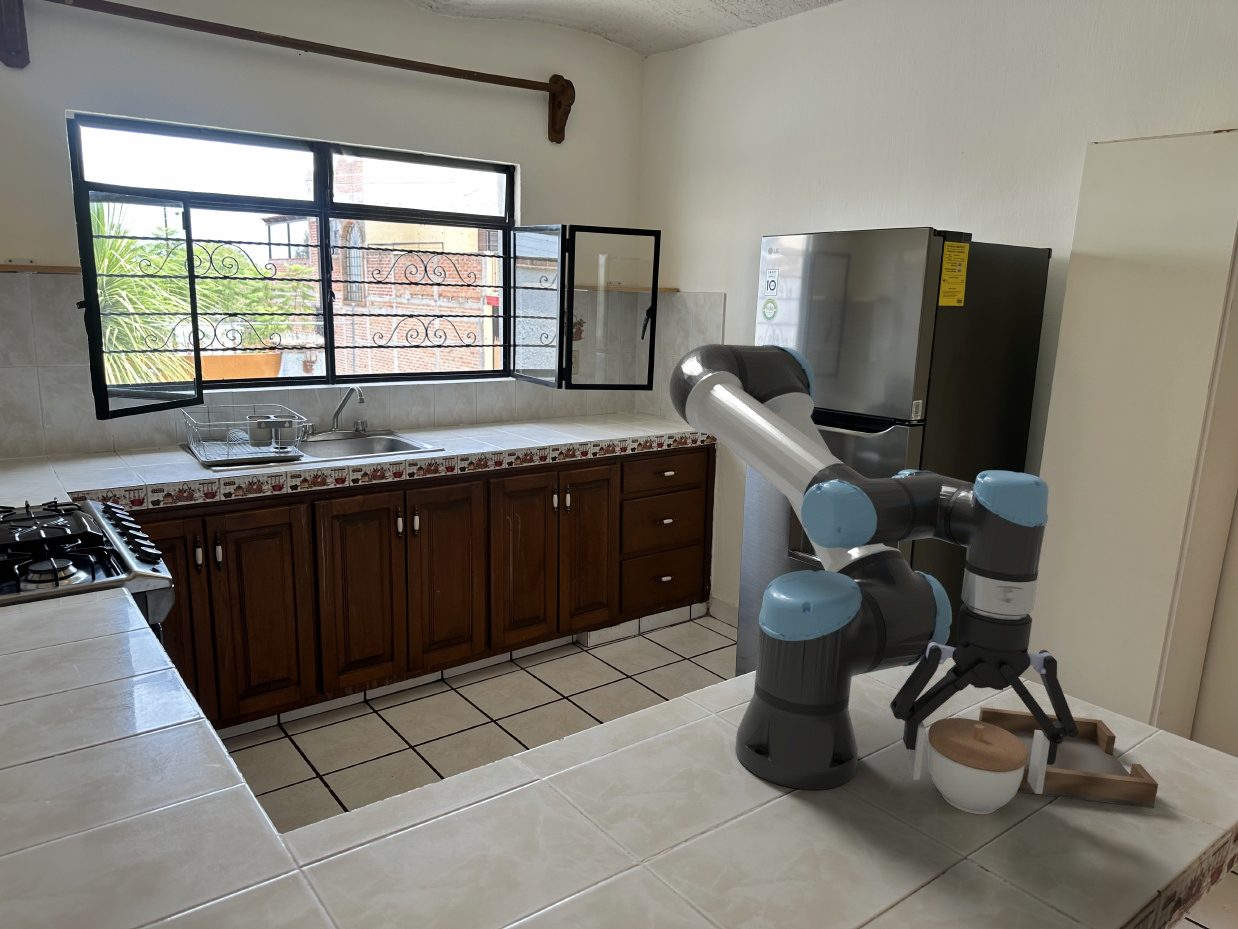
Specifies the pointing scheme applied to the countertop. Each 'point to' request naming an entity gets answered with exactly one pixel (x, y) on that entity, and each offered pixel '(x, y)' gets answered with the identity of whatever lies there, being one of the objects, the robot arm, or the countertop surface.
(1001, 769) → the lidded jar
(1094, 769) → the holder
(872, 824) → the countertop surface
